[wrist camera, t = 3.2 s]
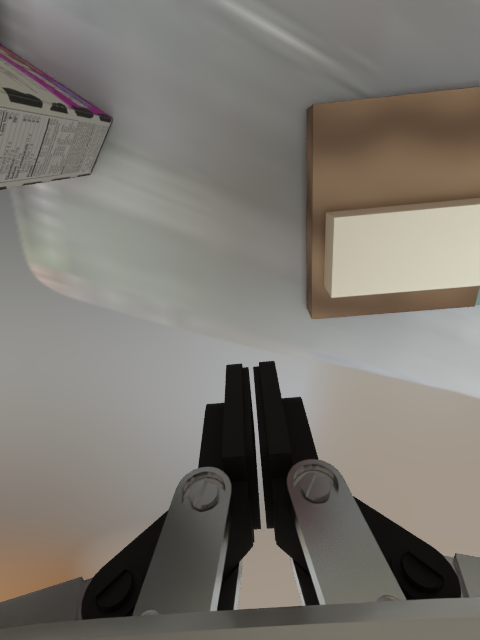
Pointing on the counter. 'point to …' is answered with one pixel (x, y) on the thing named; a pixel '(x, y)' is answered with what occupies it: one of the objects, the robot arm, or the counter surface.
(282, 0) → the counter surface
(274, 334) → the counter surface
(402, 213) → the tile
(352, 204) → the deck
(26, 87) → the candy bar box
